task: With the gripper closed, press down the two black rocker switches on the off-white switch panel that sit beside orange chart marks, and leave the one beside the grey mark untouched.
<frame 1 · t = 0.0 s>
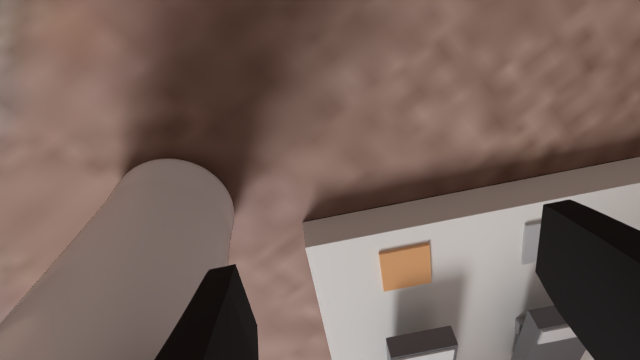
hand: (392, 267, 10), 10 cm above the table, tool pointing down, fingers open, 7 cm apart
drinking glass: (179, 200, 20), on the table, touching gripper
rocker b: (552, 343, 22), point 4 cm above the table, hinge at -12.0°
switch panel: (520, 274, 25), on the table
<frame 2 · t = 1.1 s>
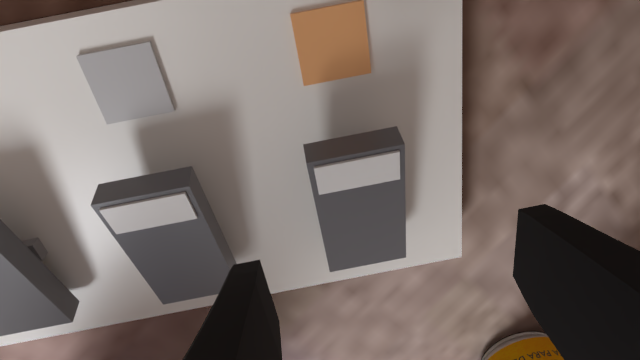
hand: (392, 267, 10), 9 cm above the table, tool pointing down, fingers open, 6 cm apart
rocker a: (360, 207, 16), point 4 cm above the table, hinge at -12.0°
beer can: (516, 355, 28), on the table
rocker b: (175, 243, 16), point 4 cm above the table, hinge at -12.0°
switch panel: (180, 162, 19), on the table
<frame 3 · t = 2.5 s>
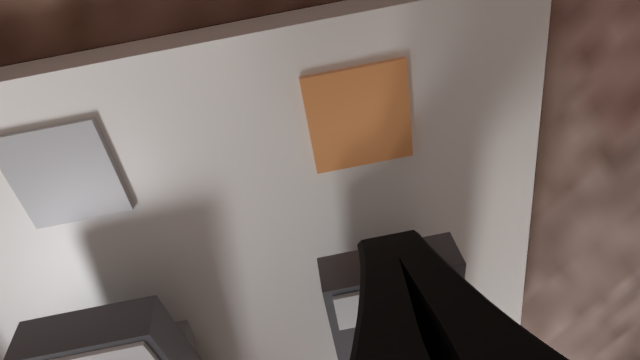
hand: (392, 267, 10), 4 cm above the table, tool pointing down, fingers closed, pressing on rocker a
rocker a: (394, 335, 12), point 4 cm above the table, hinge at -8.8°, touching gripper
switch panel: (150, 256, 14), on the table
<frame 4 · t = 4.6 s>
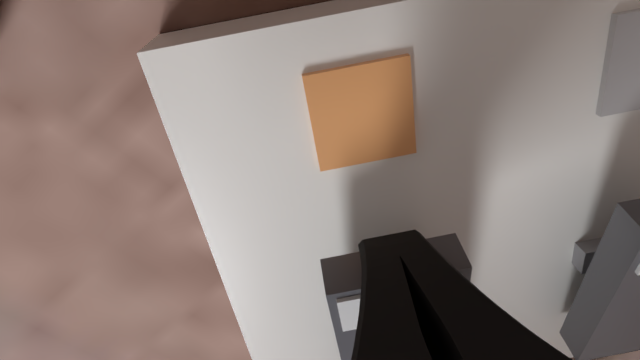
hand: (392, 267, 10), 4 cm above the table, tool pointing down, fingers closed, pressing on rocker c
switch panel: (577, 171, 14), on the table
rocker c: (397, 333, 12), point 4 cm above the table, hinge at -11.1°, touching gripper
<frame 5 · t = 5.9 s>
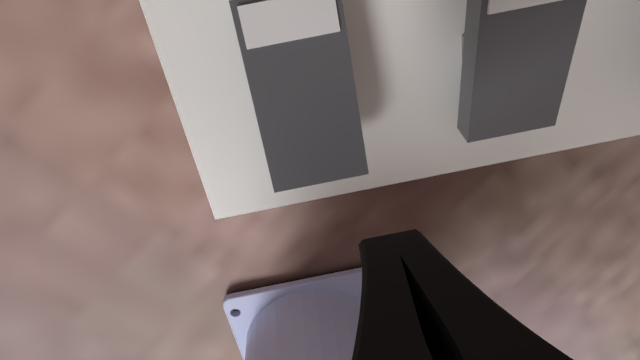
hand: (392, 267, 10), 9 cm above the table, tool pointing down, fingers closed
rocker b: (518, 50, 14), point 4 cm above the table, hinge at -12.0°
rocker c: (303, 91, 14), point 4 cm above the table, hinge at 9.0°
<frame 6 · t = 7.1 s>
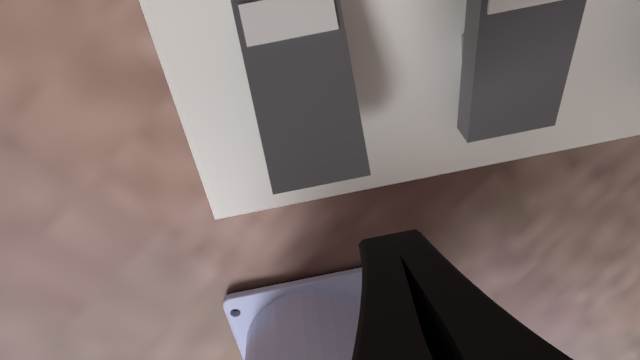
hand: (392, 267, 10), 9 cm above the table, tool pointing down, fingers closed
rocker b: (518, 50, 14), point 4 cm above the table, hinge at -12.0°
rocker c: (303, 91, 14), point 4 cm above the table, hinge at 18.7°
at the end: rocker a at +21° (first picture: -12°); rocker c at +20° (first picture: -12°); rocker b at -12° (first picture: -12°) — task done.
